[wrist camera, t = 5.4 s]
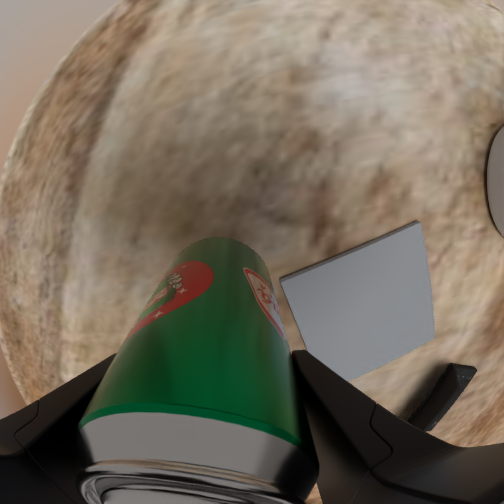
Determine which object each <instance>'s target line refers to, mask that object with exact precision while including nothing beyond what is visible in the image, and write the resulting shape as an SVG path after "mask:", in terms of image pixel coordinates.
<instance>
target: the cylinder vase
mask: <svg viewBox="0 0 504 504" xmlns="http://www.w3.org/2000/svg"><path fill="white" fill-rule="evenodd" d="M487 192H488V201H489V206H490V210H491V214H492V217H493V220H494V222H495V225H496V227H497V229H498V230H499V232H500V233H501V234H502V236H503V237H504V127H503V128H502V129H501V130H500V131H499V132H498V133H497V135H496V137H495V139H494V141H493V144H492V147H491V150H490V154H489V159H488V167H487Z"/></svg>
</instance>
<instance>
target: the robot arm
mask: <svg viewBox="0 0 504 504" xmlns="http://www.w3.org/2000/svg"><path fill="white" fill-rule="evenodd" d="M116 354H117V353H115V354H113V355H111V356H110V357H108V358H106V359H105V360H103V361H101V362H100V363H98V364H97V365H95V366H93V367H92V368H90V369H88V370H87V371H85V372H83V373H82V374H80V375H78V376H77V377H75V378H73V379H72V380H70V381H68V382H67V383H65V384H63V385H62V386H60V387H58V388H57V389H55V390H53V391H52V392H50V393H48V394H47V395H45V396H43V397H42V398H40V400H36V401H35V402H33V403H32V404H30V405H28V406H26V407H25V408H23V409H21V410H19V411H17V412H15V413H13V414H11V415H9V416H7V417H5V418H3V419H1V420H0V504H87V503H86V502H85V501H84V500H83V499H82V498H81V496H80V495H79V493H78V491H77V488H76V476H77V475H78V473H79V472H80V471H81V465H80V461H79V458H78V454H77V450H76V445H75V440H74V437H75V430H76V427H77V425H78V423H79V421H80V420H81V418H82V416H83V414H84V412H85V410H86V408H87V406H88V404H89V402H90V401H91V399H92V397H93V395H94V393H95V391H96V389H97V388H98V386H99V384H100V382H101V380H102V379H103V377H104V375H105V373H106V372H107V370H108V368H109V366H110V364H111V363H112V361H113V359H114V358H115V356H116ZM291 356H292V360H293V364H294V367H295V371H296V375H297V379H298V383H299V386H300V390H301V394H302V398H303V402H304V406H305V409H306V413H307V417H308V421H309V425H310V429H311V433H312V437H313V440H314V444H315V448H316V452H317V456H318V460H319V464H320V470H319V476H318V479H317V481H316V483H317V486H318V489H319V492H320V496H321V499H322V502H323V504H504V443H499V444H493V445H486V446H478V447H459V446H455V445H452V444H449V443H447V442H445V441H443V440H441V439H438V438H436V437H434V436H432V435H430V434H428V433H426V432H424V431H422V430H421V429H419V428H417V427H415V426H413V425H411V424H409V423H408V422H406V421H404V420H402V419H400V418H399V417H397V416H396V415H394V414H393V413H391V412H390V411H388V410H387V409H385V408H384V407H382V406H381V405H379V404H376V402H375V401H374V400H372V399H371V398H370V397H368V396H367V395H365V394H364V393H363V392H361V391H360V390H358V389H357V388H356V387H354V386H353V385H352V384H350V383H349V382H348V381H346V380H345V379H344V378H342V377H341V376H339V375H338V374H337V373H335V372H334V371H333V370H331V369H330V368H329V367H327V366H326V365H325V364H324V363H322V362H321V361H320V360H318V359H317V358H316V357H314V356H313V355H312V354H310V353H309V352H308V351H306V350H295V351H292V354H291Z"/></svg>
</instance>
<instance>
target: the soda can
mask: <svg viewBox="0 0 504 504" xmlns="http://www.w3.org/2000/svg"><path fill="white" fill-rule="evenodd" d="M74 440H75V445H76V450H77V454H78V458H79V461H80V465H81V471H80V472H79V473H78V475H77V476H76V488H77V491H78V493H79V495H80V496H81V498H82V499H83V500H84V501H85V502H86V503H87V504H306V503H305V502H306V500H307V498H308V496H309V495H310V493H311V491H312V489H313V487H314V485H315V483H316V481H317V479H318V476H319V470H320V464H319V460H318V456H317V452H316V448H315V444H314V440H313V437H312V433H311V429H310V425H309V421H308V417H307V413H306V409H305V406H304V402H303V398H302V394H301V390H300V386H299V383H298V379H297V375H296V371H295V367H294V364H293V360H292V356H291V352H290V349H289V345H288V341H287V337H286V334H285V330H284V326H283V322H282V319H281V315H280V311H279V308H278V304H277V300H276V297H275V293H274V289H273V286H272V282H271V278H270V275H269V271H268V269H267V267H266V265H265V263H264V261H263V260H262V259H261V257H260V256H259V255H258V254H257V253H256V252H255V251H254V250H253V249H251V248H250V247H249V246H247V245H245V244H243V243H241V242H239V241H236V240H233V239H229V238H223V237H213V238H207V239H203V240H200V241H197V242H195V243H193V244H191V245H190V246H188V247H187V248H185V249H184V250H183V251H182V252H181V253H180V254H179V255H178V257H177V258H176V260H175V261H174V263H173V264H172V266H171V267H170V269H169V270H168V272H167V273H166V275H165V276H164V278H163V279H162V281H161V282H160V284H159V286H158V287H157V289H156V290H155V292H154V293H153V295H152V297H151V298H150V300H149V301H148V303H147V304H146V306H145V308H144V309H143V311H142V312H141V314H140V316H139V317H138V319H137V321H136V322H135V324H134V326H133V327H132V329H131V330H130V332H129V334H128V335H127V337H126V339H125V340H124V342H123V344H122V346H121V347H120V349H119V351H118V352H117V354H116V356H115V358H114V359H113V361H112V363H111V364H110V366H109V368H108V370H107V372H106V373H105V375H104V377H103V379H102V380H101V382H100V384H99V386H98V388H97V389H96V391H95V393H94V395H93V397H92V399H91V401H90V402H89V404H88V406H87V408H86V410H85V412H84V414H83V416H82V418H81V420H80V421H79V423H78V425H77V427H76V430H75V437H74Z"/></svg>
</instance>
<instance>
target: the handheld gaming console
mask: <svg viewBox="0 0 504 504" xmlns="http://www.w3.org/2000/svg"><path fill="white" fill-rule="evenodd" d="M476 372H477V369H476V368H475V367H472V366H466V365H459V364H452V363H450V365H449V366H448V368H447V369H446V371H445V372H444V374H443V375H442V377H441V378H440V380H439V383H437V385H435V387H434V388H433V389H432V391H431V392H430V393H429V395H428V396H427V397H426V399H425V400H424V401H423V403H422V404H421V405H420V407H419V408H418V409H417V410H416V413H415V414H413V415H412V416H411V418H410V419H409V420H408V421H407V422H408V423H409V424H411V425H413V426H415V427H417V428H419V429H421V430H422V431H424V432H426V431H431V430H432V429H433V428H434V427H435V425H436V424H437V423H438V422H439V421H440V420H441V418H442V417H443V416H444V415H445V414H446V412H447V411H448V410H449V409H450V408H451V406H452V405H453V404H454V402H455V401H456V400H457V399H458V397H459V396H460V395H461V393H462V392H463V391H464V389H465V388H466V386H467V385H468V384H469V382H470V381H471V379H472V378H473V376H474V375H475V373H476Z"/></svg>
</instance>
